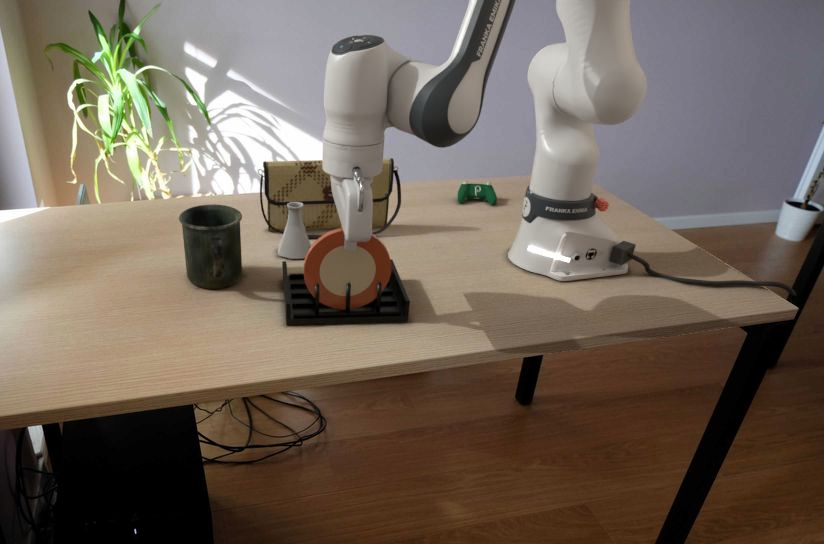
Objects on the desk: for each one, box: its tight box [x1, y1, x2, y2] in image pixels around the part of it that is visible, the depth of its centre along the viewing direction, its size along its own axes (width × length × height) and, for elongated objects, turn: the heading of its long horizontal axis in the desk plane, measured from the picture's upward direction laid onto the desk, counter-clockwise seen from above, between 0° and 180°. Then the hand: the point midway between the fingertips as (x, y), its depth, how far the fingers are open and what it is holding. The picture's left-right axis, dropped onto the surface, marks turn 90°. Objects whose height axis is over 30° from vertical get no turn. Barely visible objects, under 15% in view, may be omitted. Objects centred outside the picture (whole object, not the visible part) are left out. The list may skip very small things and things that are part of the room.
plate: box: [302, 227, 391, 310], centre depth 106 cm, size 14×1×14 cm, turn 95°
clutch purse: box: [257, 157, 402, 239], centre depth 137 cm, size 30×7×15 cm, turn 99°
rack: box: [281, 245, 411, 327], centre depth 113 cm, size 20×16×7 cm
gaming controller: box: [457, 180, 498, 206], centre depth 158 cm, size 9×4×6 cm
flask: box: [277, 202, 312, 260], centre depth 129 cm, size 7×7×10 cm
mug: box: [178, 204, 243, 290], centre depth 117 cm, size 11×15×12 cm
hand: (348, 245), depth 103 cm, fingers closed on plate, 1 cm apart
